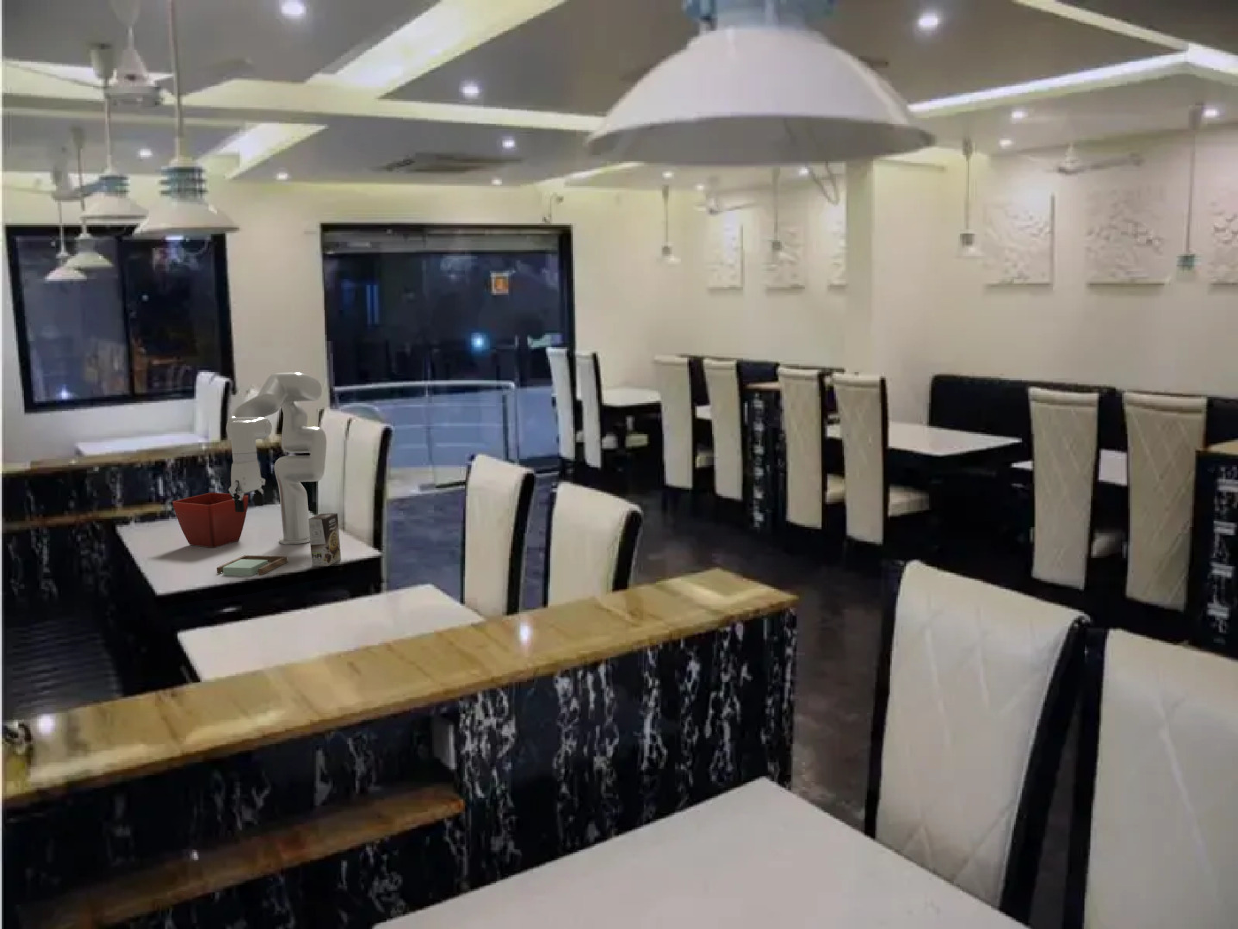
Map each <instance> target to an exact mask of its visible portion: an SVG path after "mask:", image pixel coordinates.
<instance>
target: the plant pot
mask: <svg viewBox="0 0 1238 929" xmlns="http://www.w3.org/2000/svg"><path fill="white" fill-rule="evenodd" d="M242 500H244V509H245V511H244V512H236V511H235V502H234V500H233V498H232V497H231V494H230V493H225V492H223V493H222V492H208V493H204V494H200V495H196V496H195V495H194V496H190V497H186V498H182V499H178V500H174V501H173V500H172V506H173V509H174V510H173V511H174V513H175V516H176V519H177V522H178V524H179V526H180V529H181V531H182V532H183V535H184V537H185V539H186V541H187V542H188V544H189V545H190V546H198V547H206V548H212V547H213V548H217V546H218V547H221V546H224V545H228V544H230V543H231V544H232V543H234V542H238V541H240V539H241V537H242V532H243V530H244V526H245V521H246V518H247V510H248V506H249V505H248V504H249V495H248V494H247V495H246V494H244V496H243V498H242Z"/></svg>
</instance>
